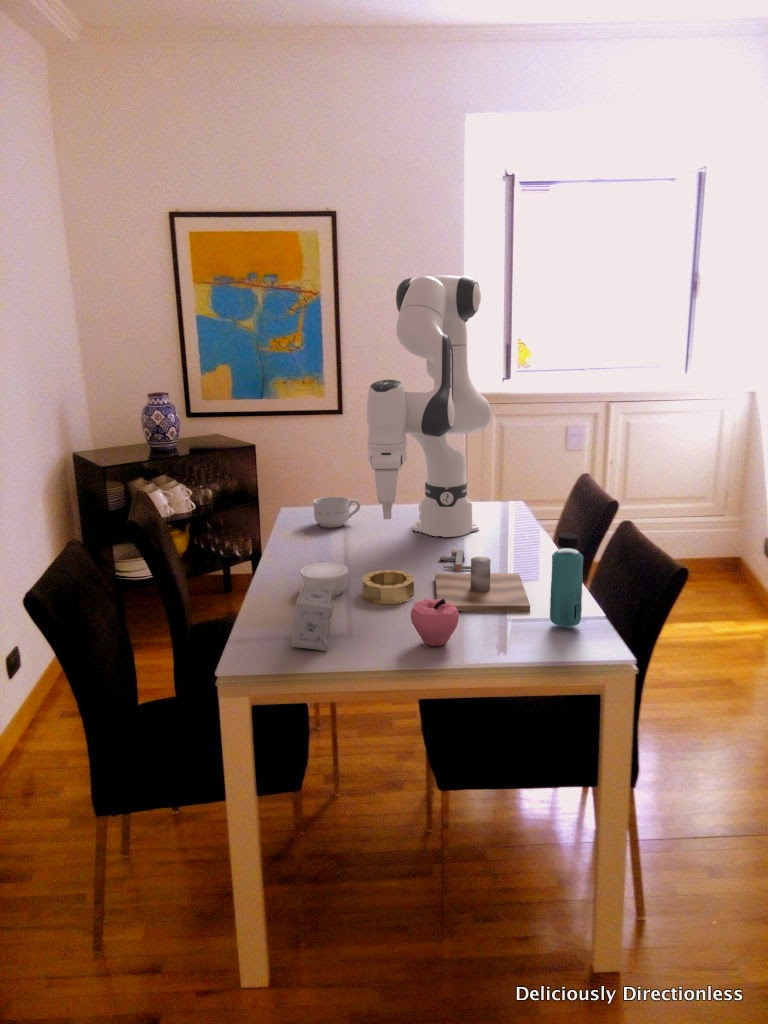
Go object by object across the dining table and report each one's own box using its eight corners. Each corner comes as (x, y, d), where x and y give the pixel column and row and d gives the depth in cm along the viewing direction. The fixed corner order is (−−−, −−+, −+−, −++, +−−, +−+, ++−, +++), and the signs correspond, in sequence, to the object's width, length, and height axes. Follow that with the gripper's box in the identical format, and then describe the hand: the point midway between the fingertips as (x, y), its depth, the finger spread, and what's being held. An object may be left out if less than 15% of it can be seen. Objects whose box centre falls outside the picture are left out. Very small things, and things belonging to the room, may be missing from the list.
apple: (455, 633, 165) (456, 588, 162) (461, 652, 157) (462, 604, 154) (409, 635, 165) (408, 589, 162) (412, 654, 156) (412, 606, 154)
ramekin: (296, 586, 193) (295, 565, 191) (341, 579, 196) (340, 559, 195) (307, 602, 183) (306, 580, 181) (354, 595, 186) (354, 574, 185)
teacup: (311, 530, 236) (310, 504, 233) (316, 520, 246) (315, 494, 244) (359, 530, 235) (358, 503, 233) (361, 519, 245) (361, 494, 243)
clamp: (440, 549, 212) (479, 549, 211) (440, 557, 212) (479, 557, 211) (437, 568, 197) (478, 569, 196) (437, 577, 198) (478, 578, 197)
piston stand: (435, 579, 195) (435, 546, 193) (518, 579, 194) (519, 545, 192) (437, 612, 176) (437, 575, 174) (530, 611, 175) (531, 575, 173)
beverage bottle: (575, 636, 163) (580, 541, 157) (544, 629, 166) (547, 537, 161) (584, 624, 168) (589, 532, 163) (553, 618, 172) (557, 528, 166)
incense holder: (333, 652, 158) (331, 603, 155) (291, 652, 158) (288, 603, 155) (338, 631, 167) (336, 584, 164) (298, 631, 167) (295, 584, 165)
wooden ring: (364, 585, 192) (364, 570, 191) (413, 585, 191) (413, 569, 190) (361, 604, 181) (361, 588, 180) (413, 604, 180) (413, 587, 179)
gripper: (375, 445, 192) (376, 501, 196) (370, 463, 172) (372, 525, 176) (401, 444, 192) (402, 501, 196) (400, 462, 172) (401, 525, 176)
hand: (388, 512), depth 186 cm, fingers open, 8 cm apart
